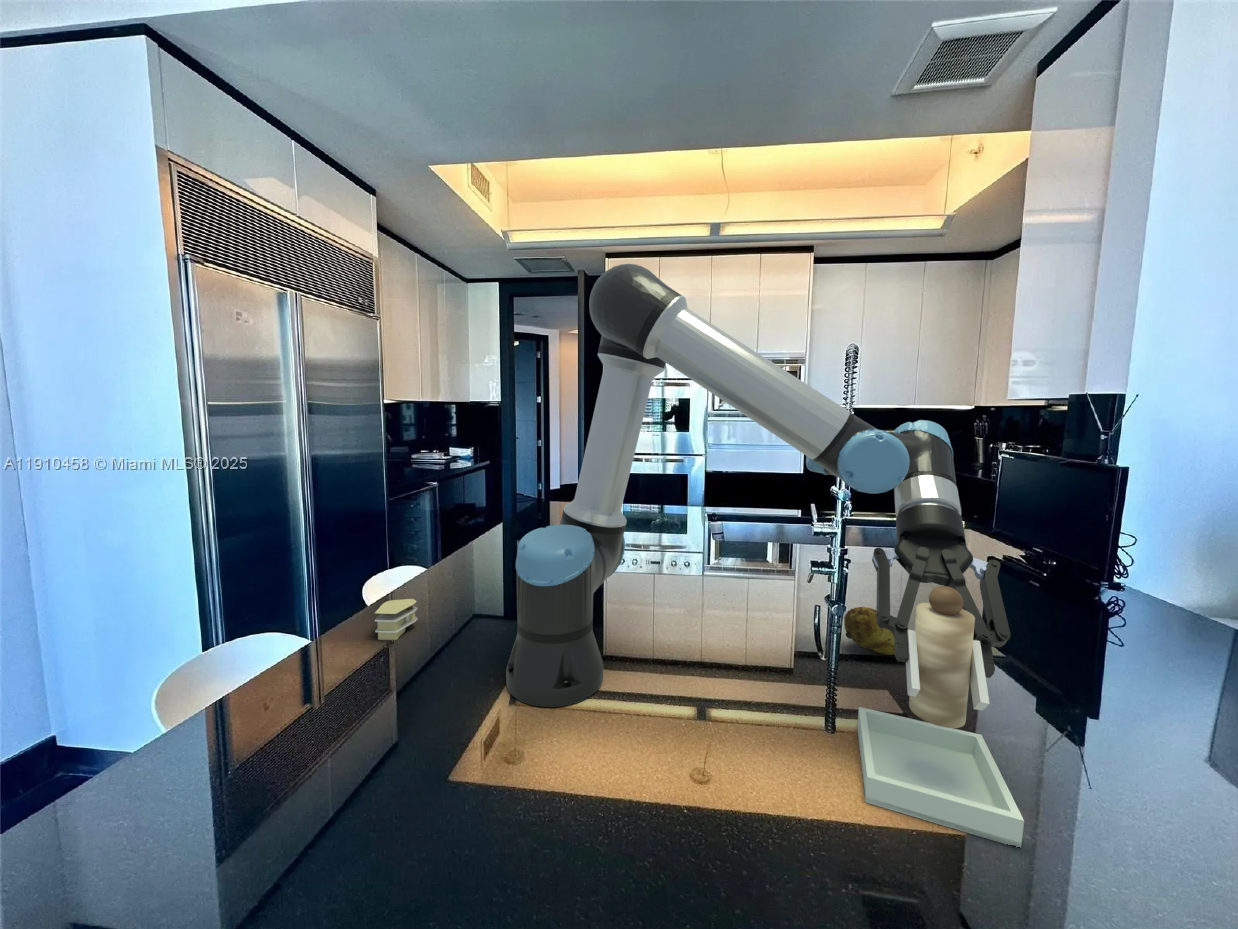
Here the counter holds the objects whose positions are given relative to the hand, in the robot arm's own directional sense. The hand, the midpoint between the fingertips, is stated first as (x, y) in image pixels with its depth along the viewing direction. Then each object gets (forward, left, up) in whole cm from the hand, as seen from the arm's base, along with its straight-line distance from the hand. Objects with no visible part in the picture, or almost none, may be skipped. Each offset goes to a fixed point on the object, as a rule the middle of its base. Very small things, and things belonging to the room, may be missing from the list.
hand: (946, 698), depth 51 cm
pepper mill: (0, +4, -4) cm, 5 cm away
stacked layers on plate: (-86, +5, -13) cm, 87 cm away
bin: (0, +4, -12) cm, 13 cm away
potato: (-2, +36, -12) cm, 38 cm away
